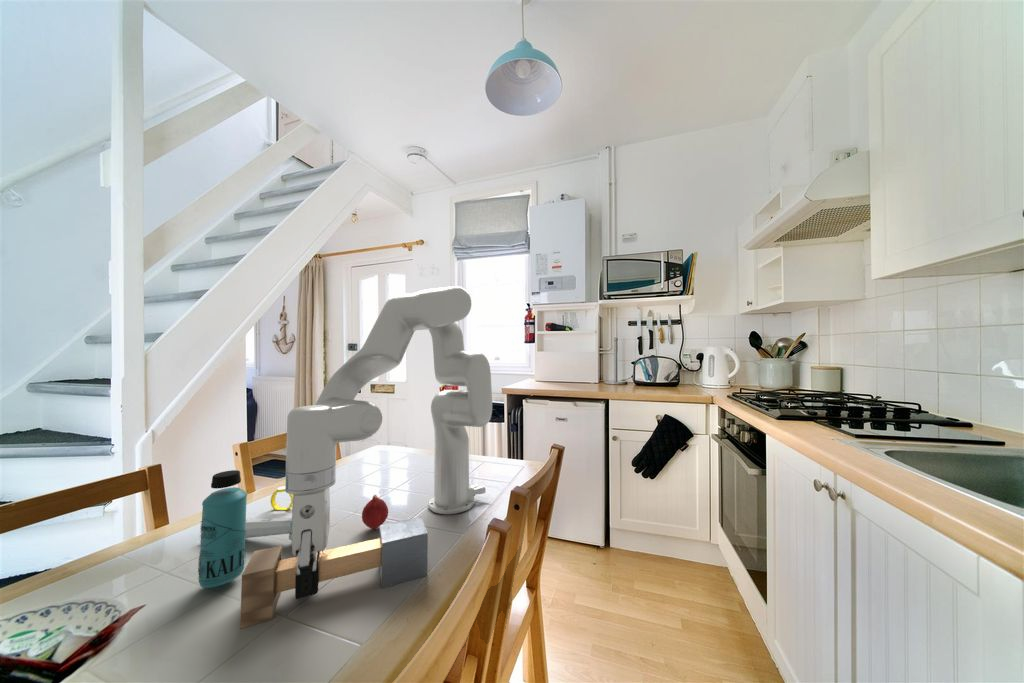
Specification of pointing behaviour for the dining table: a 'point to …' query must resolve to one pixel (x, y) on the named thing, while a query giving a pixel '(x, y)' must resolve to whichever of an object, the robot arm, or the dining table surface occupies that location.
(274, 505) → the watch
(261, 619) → the socket
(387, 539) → the sleeve
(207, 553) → the beverage bottle
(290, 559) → the banded wooden beam
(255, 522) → the white long handled piece
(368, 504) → the onion
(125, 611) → the dining table surface
